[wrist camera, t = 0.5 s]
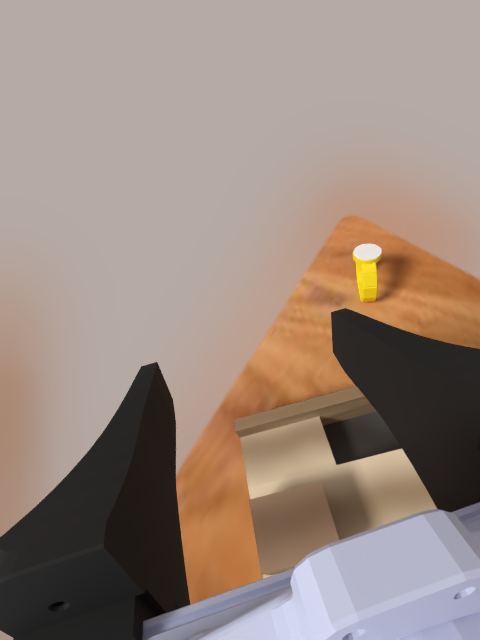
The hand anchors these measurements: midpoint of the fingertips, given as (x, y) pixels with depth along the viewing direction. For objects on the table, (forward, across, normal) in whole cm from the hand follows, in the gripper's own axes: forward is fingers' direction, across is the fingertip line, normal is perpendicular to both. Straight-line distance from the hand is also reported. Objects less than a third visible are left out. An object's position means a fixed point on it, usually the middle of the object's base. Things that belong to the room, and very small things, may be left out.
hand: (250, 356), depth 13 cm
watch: (+20, -17, +12) cm, 29 cm away
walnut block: (+1, -1, +17) cm, 17 cm away
